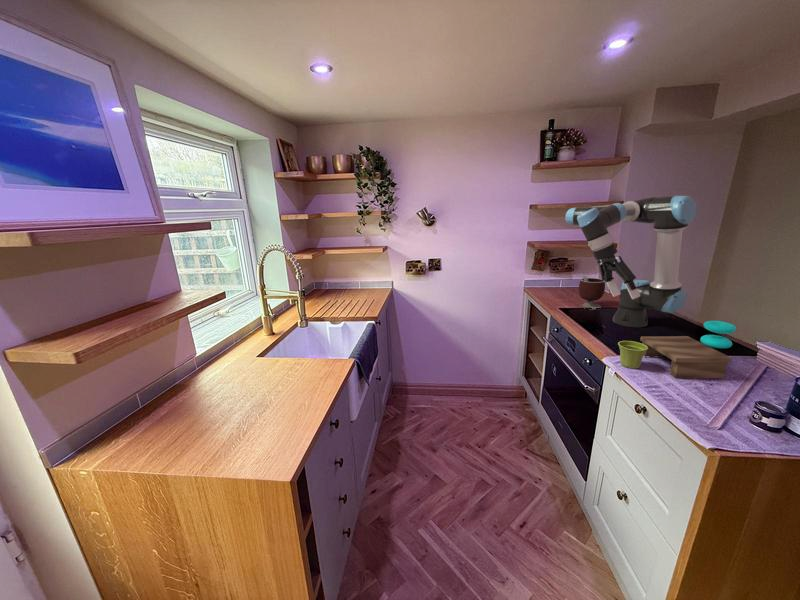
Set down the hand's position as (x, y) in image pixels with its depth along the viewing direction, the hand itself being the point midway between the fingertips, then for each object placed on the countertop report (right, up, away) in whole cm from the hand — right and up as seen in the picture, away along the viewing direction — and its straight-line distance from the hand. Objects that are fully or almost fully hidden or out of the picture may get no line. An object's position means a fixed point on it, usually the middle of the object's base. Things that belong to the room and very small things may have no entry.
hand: (626, 296), depth 121 cm
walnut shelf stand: (+22, -27, +2) cm, 35 cm away
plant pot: (+4, -28, +4) cm, 28 cm away
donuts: (+52, -21, +17) cm, 58 cm away
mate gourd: (+32, -5, +77) cm, 84 cm away
